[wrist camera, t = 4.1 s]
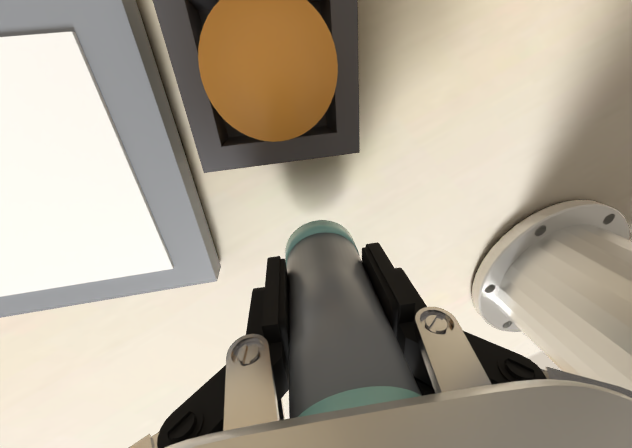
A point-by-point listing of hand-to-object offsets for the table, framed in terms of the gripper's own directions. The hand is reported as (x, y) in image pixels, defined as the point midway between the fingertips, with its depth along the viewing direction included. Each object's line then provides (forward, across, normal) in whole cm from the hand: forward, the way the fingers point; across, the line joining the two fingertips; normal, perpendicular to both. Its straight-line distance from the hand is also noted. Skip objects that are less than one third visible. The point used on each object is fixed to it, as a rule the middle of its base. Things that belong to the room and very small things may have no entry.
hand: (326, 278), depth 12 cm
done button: (+3, +1, -8) cm, 9 cm away
